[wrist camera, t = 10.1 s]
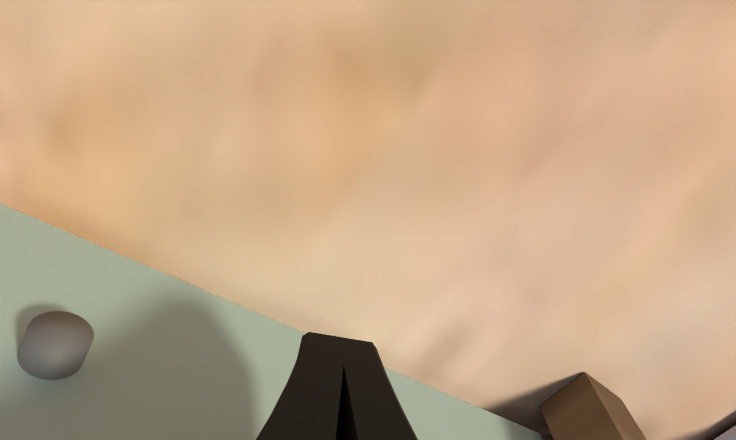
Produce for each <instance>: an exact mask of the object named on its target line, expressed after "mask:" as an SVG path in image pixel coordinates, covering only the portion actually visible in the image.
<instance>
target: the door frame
mask: <svg viewBox="0 0 736 440" xmlns="http://www.w3.org/2000/svg"><path fill="white" fill-rule="evenodd" d="M540 409H541V411H542V413H543V416H544V418H545V420H546V423H547V425H548V427H549V429H550V432H551V434H552V436H553V439H554V440H646V438H645V437H644V435H643V434H642V432H641V430H640V429H639V427H638V425H637V424H636V422H635V421H634V419H633V417H632V416H631V414H630V413H629V411H628V409H627V408H626V406H625V405H624V403H623V401H622V400H621V399H620V398H619V397H617V396H616V395H615V394H613V393H612V392H611V391H609V390H608V389H607V388H605V387H604V386H603V385H601V384H600V383H599V382H597V381H596V380H595V379H593V378H592V377H591V376H589V375H588V374H587V373H585V372H584V373H583V374H581V375H580V376H579V377H578V378H576V379H575V380H574V381H572V382H571V383H570V384H568V385H567V386H566V387H565V388H563V389H562V390H561V391H559V392H558V393H557V394H555V395H554V396H553V397H552V398H550V399H549V400H548V401H546V402H545V403H544V404H542V405H541V406H540Z"/></svg>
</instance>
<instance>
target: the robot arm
mask: <svg viewBox="0 0 736 440" xmlns="http://www.w3.org/2000/svg"><path fill="white" fill-rule="evenodd" d="M256 440H418V438H417V436H416V435H415V433H414V431H413V429H412V427H411V425H410V423H409V421H408V419H407V417H406V415H405V413H404V411H403V409H402V407H401V405H400V403H399V401H398V398H397V396H396V394H395V392H394V390H393V387H392V385H391V383H390V381H389V378H388V376H387V374H386V371H385V369H384V367H383V364H382V362H381V359H380V357H379V354H378V351H377V349H376V347H375V346H374V344H373V343H372V342H366V341H360V340H354V339H348V338H342V337H336V336H330V335H324V334H318V333H312V332H308V333H307V334H305V335H303V336H302V338H301V343H300V347H299V352H298V356H297V360H296V362H295V365H294V368H293V370H292V372H291V375H290V377H289V379H288V382H287V384H286V386H285V388H284V390H283V392H282V393H281V395H280V397H279V399H278V401H277V403H276V405H275V407H274V409H273V411H272V413H271V415H270V417H269V418H268V420H267V422H266V423H265V425H264V427H263V428H262V430H261V432H260V433H259V435H258V437H257V438H256ZM714 440H736V425H735V426H734V427H732V428H731V429H729V430H728V431H726V432H724V433H723V434H721V435H720V436H718V437H717V438H715V439H714Z"/></svg>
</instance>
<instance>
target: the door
mask: <svg viewBox="0 0 736 440" xmlns="http://www.w3.org/2000/svg"><path fill="white" fill-rule="evenodd" d="M305 334H306V333H303V332H301V331H299V330H296V329H294V328H291V327H289V326H287V325H284V324H282V323H280V322H277V321H275V320H273V319H270V318H268V317H266V316H263V315H261V314H259V313H256V312H254V311H252V310H249V309H247V308H245V307H242V306H240V305H238V304H235V303H233V302H231V301H228V300H226V299H223V298H221V297H219V296H216V295H214V294H212V293H209V292H207V291H205V290H202V289H200V288H198V287H195V286H193V285H191V284H188V283H186V282H184V281H181V280H179V279H177V278H174V277H172V276H170V275H167V274H165V273H163V272H160V271H158V270H156V269H153V268H151V267H148V266H146V265H144V264H141V263H139V262H137V261H134V260H132V259H130V258H127V257H125V256H123V255H120V254H118V253H116V252H113V251H111V250H109V249H106V248H104V247H102V246H99V245H97V244H95V243H92V242H90V241H88V240H85V239H83V238H80V237H78V236H76V235H73V234H71V233H69V232H66V231H64V230H62V229H59V228H57V227H55V226H52V225H50V224H48V223H45V222H43V221H41V220H38V219H36V218H34V217H31V216H29V215H27V214H24V213H22V212H20V211H17V210H15V209H12V208H10V207H8V206H5V205H3V204H1V203H0V440H256V438H257V437H258V435H259V433H260V432H261V430H262V428H263V427H264V425H265V423H266V422H267V420H268V418H269V417H270V415H271V413H272V411H273V409H274V407H275V405H276V403H277V401H278V399H279V397H280V395H281V393H282V392H283V390H284V388H285V386H286V384H287V382H288V379H289V377H290V375H291V372H292V370H293V368H294V365H295V362H296V360H297V356H298V352H299V347H300V343H301V338H302V336H303V335H305ZM384 369H385V371H386V374H387V376H388V378H389V381H390V383H391V385H392V387H393V390H394V392H395V394H396V396H397V398H398V401H399V403H400V405H401V407H402V409H403V411H404V413H405V415H406V417H407V419H408V421H409V423H410V425H411V427H412V429H413V431H414V433H415V435H416V436H417V438H418V440H554V439H553V436H550V435H540V433H538V432H535V431H533V430H531V429H528V428H526V427H524V426H521V425H519V424H517V423H514V422H512V421H510V420H507V419H505V418H502V417H500V416H498V415H495V414H493V413H491V412H488V411H486V410H484V409H481V408H479V407H477V406H474V405H472V404H470V403H467V402H465V401H463V400H460V399H458V398H456V397H453V396H451V395H449V394H446V393H444V392H442V391H439V390H437V389H435V388H432V387H430V386H427V385H425V384H423V383H420V382H418V381H416V380H413V379H411V378H409V377H406V376H404V375H402V374H399V373H397V372H395V371H392V370H390V369H388V368H385V367H384Z"/></svg>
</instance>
